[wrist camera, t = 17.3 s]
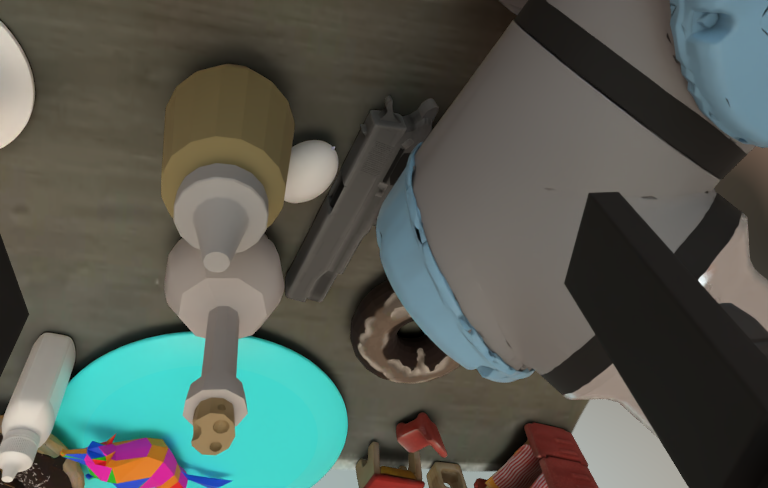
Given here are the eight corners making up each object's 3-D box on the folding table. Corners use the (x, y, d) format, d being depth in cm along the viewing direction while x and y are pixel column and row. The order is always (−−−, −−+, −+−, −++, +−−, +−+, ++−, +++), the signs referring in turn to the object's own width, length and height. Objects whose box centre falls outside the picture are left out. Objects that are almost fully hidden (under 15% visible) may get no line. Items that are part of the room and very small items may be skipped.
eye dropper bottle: (98, 350, 54) (61, 472, 44) (55, 384, 55) (10, 509, 45) (52, 323, 51) (3, 446, 41) (9, 359, 53) (-49, 486, 43)
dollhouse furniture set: (400, 393, 62) (418, 472, 55) (574, 429, 70) (609, 501, 63) (352, 465, 68) (363, 545, 61) (518, 490, 76) (545, 564, 69)
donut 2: (320, 311, 55) (324, 343, 52) (432, 238, 52) (443, 267, 49) (395, 378, 61) (402, 410, 58) (498, 316, 58) (512, 346, 55)
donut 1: (5, 484, 61) (-26, 520, 58) (-44, 397, 55) (-82, 432, 52) (105, 503, 59) (79, 542, 56) (66, 415, 53) (34, 453, 50)
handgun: (405, 313, 57) (279, 278, 52) (522, 133, 48) (382, 72, 43) (411, 335, 54) (280, 300, 50) (535, 151, 45) (388, 88, 41)
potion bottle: (165, 289, 51) (124, 485, 36) (178, 196, 46) (138, 378, 32) (272, 303, 53) (275, 491, 39) (295, 216, 49) (308, 393, 34)
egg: (303, 210, 48) (271, 170, 47) (360, 163, 45) (327, 120, 45) (281, 224, 44) (247, 180, 44) (343, 173, 42) (307, 127, 42)
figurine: (34, 450, 53) (117, 393, 53) (159, 510, 63) (230, 463, 62) (28, 492, 50) (116, 432, 50) (160, 548, 60) (236, 499, 59)
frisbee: (-10, 372, 52) (-20, 393, 51) (304, 290, 53) (305, 308, 51) (131, 537, 68) (127, 557, 66) (372, 474, 68) (375, 492, 67)
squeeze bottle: (187, 27, 40) (141, 161, 25) (309, 70, 42) (331, 213, 28) (159, 138, 44) (106, 309, 29) (273, 171, 46) (276, 342, 32)
